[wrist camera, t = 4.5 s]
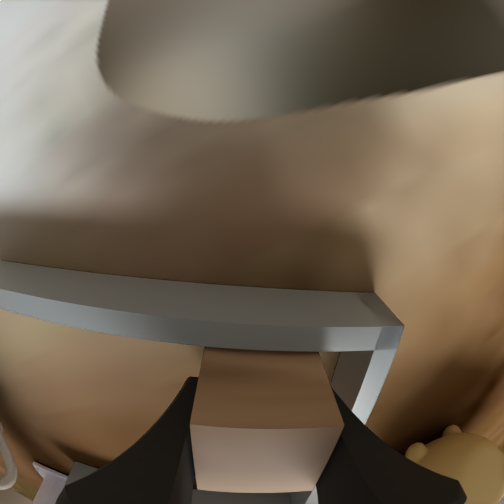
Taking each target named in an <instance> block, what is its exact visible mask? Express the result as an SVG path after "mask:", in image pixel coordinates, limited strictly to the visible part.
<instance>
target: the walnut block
mask: <svg viewBox="0 0 504 504" xmlns="http://www.w3.org/2000/svg"><path fill="white" fill-rule="evenodd" d="M343 428H344V423H343V420H342V417H341V414H340V411H339V408H338V405H337V402H336V400H335V397H334V394H333V391H332V388H331V385H330V383H329V380H328V377H327V374H326V371H325V369H324V366H323V363H322V360H321V357H320V355H319V352H313V351H268V350H248V349H232V348H218V347H207V346H205V348H204V353H203V358H202V363H201V368H200V373H199V378H198V383H197V388H196V394H195V399H194V404H193V409H192V415H191V420H190V432H191V442H192V451H193V459H194V467H195V475H196V482H197V489H198V490H207V491H219V492H237V493H282V492H300V491H312V490H313V488H314V487H315V485H316V483H317V481H318V479H319V477H320V475H321V474H322V472H323V470H324V468H325V466H326V464H327V462H328V460H329V458H330V456H331V454H332V452H333V450H334V447H335V445H336V443H337V441H338V439H339V437H340V434H341V432H342V430H343Z"/></svg>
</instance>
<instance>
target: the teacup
mask: <svg viewBox="0 0 504 504" xmlns="http://www.w3.org/2000/svg"><path fill="white" fill-rule="evenodd" d="M0 451H1V453H2V456H3V458H4V462H5V465H6V474H5V476H3V477H2V478H0V489H1V490H4V489H7V488H10V487H11V486H13V484H14V483H15V481H16V478H17V467H16V463H15V459H14V457H13V454H12V452H11V450H10V448H9V446H8V444H7V442H6V439H5V437H4V428H3V425H2V423H1V422H0Z"/></svg>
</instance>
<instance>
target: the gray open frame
mask: <svg viewBox="0 0 504 504" xmlns="http://www.w3.org/2000/svg"><path fill="white" fill-rule="evenodd" d="M0 309H3V310H7V311H10V312H14V313H17V314H21V315H25V316H29V317H33V318H37V319H41V320H45V321H49V322H53V323H58V324H62V325H67V326H71V327H76V328H81V329H86V330H91V331H97V332H102V333H108V334H114V335H120V336H126V337H132V338H139V339H146V340H153V341H161V342H169V343H177V344H186V345H196V346H207V347H218V348H232V349H248V350H268V351H313V352H323V351H340V354H339V358H338V361H337V365H336V368H335V372H334V375H333V378H332V382H331V387H332V388H333V390H334V391H335V392H336V393H337V394H338V396H339V397H340V398H341V399H342V400H343V402H344V403H345V404H346V405H347V406H348V407H349V409H350V410H351V411H352V412H353V413H354V414H355V415H356V416H357V417H358V418H359V419H360V420H361V421H362V423H363V424H364V425H365V423H366V421H367V419H368V417H369V415H370V413H371V411H372V409H373V406H374V404H375V402H376V400H377V398H378V395H379V393H380V391H381V388H382V386H383V384H384V381H385V379H386V376H387V374H388V371H389V369H390V366H391V363H392V361H393V358H394V355H395V353H396V350H397V347H398V344H399V341H400V339H401V336H402V333H403V330H404V325H403V324H402V322H401V321H400V320H399V319H398V318H397V317H396V316H395V315H394V313H393V312H392V311H391V310H390V309H389V308H388V307H387V306H386V304H385V303H384V302H383V301H382V300H381V299H380V298H379V297H378V296H377V295H376V294H375V293H363V292H336V291H314V290H294V289H276V288H260V287H245V286H231V285H217V284H204V283H192V282H181V281H169V280H158V279H148V278H138V277H128V276H119V275H109V274H100V273H92V272H83V271H75V270H67V269H59V268H51V267H43V266H36V265H29V264H22V263H15V262H8V261H2V260H1V261H0ZM96 470H98V469H97V468H94V467H91V466H88V465H85V464H82V463H79V462H76V461H75V462H74V465H73V467H72V469H71V471H70V473H69V476H68V478H67V480H66V483H65V485H67V484H70V483H72V482H74V481H76V480H79V479H81V478H83V477H85V476H87V475H89V474H91V473H93V472H95V471H96ZM65 485H64V486H65ZM192 504H318V497H317V489H316V485H315V487H314V488H313V490H312V491H300V492H290V493H231V492H216V491H205V490H196V489H193V493H192Z"/></svg>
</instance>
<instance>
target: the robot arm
mask: <svg viewBox="0 0 504 504" xmlns="http://www.w3.org/2000/svg"><path fill="white" fill-rule="evenodd" d="M198 378H199V377H188V378H187V380H186V381H185V383H184V385H183V387H182V388H181V390H180V391H179V393H178V394H177V396H176V397H175V399H174V400H173V402H172V403H171V404H170V406H169V407H168V408H167V410H166V411H165V412H164V413H163V415H162V416H161V417H160V418H159V419H158V420H157V421H156V423H155V424H154V425H153V426H152V427H151V428H150V429H149V430H148V431H147V432H146V433H145V434H144V435H143V436H142V437H141V438H140V439H139V440H138V441H137V442H136V443H135V444H133V445H132V446H131V447H130V448H128V449H127V450H126V451H125V452H123V453H122V454H121V455H120V456H118V457H117V458H115V459H114V460H113V461H111V462H109V463H108V464H106V465H105V466H103V467H101V468H100V469H98V470H96V471H95V472H93V473H91V474H89V475H87V476H85V477H83V478H81V479H79V480H76V481H74V482H72V483H70V484H67V485H65V483H66V480H67V478H68V476H66V475H64V474H61V473H59V472H57V471H54V470H52V469H50V468H48V467H45V466H43V465H41V464H39V463H37V462H33V466H34V467H35V469H36V470H37V471H38V472H39V474H40V475H41V476H42V477H43V482H42V484H41V486H40V488H39V490H38V492H37V494H36V496H35V499H34V501H33V503H32V504H192V493H193V486H194V480H195V476H196V475H195V467H194V459H193V451H192V442H191V432H190V420H191V415H192V409H193V404H194V399H195V394H196V388H197V383H198ZM331 388H332V387H331ZM332 391H333V394H334V397H335V400H336V402H337V405H338V408H339V411H340V414H341V417H342V420H343V423H344V428H343V430H342V432H341V434H340V437H339V439H338V441H337V443H336V445H335V447H334V450H333V452H332V454H331V456H330V458H329V460H328V462H327V464H326V466H325V468H324V470H323V472H322V474H321V475H320V477H319V479H318V481H317V483H316V489H317V497H318V504H464V503H465V502H466V500H467V496H466V494H465V492H464V490H463V488H462V486H461V484H460V482H459V481H458V480H456V479H453V478H450V477H447V476H444V475H441V474H438V473H436V472H434V471H431V470H429V469H427V468H425V467H423V466H421V465H419V464H417V463H415V462H413V461H411V460H410V459H408V458H406V457H405V456H403V455H402V454H400V453H399V452H397V451H396V450H394V449H393V448H391V447H390V446H389V445H387V444H386V443H385V442H384V441H382V440H381V439H380V438H379V437H377V436H376V435H375V434H374V433H373V432H372V431H371V430H370V429H369V428H368V427H366V426H365V425H364V424H363V423H362V421H361V420H360V419H359V418H358V417H357V416H356V415H355V414H354V413H353V412H352V411H351V410H350V409H349V407H348V406H347V405H346V404H345V403H344V402H343V400H342V399H341V398H340V397H339V396H338V394H337V393H336V392H335V391H334V390H333V388H332ZM64 485H65V486H64ZM0 504H1V503H0ZM498 504H504V500H503V501H501V502H500V503H498Z"/></svg>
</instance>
